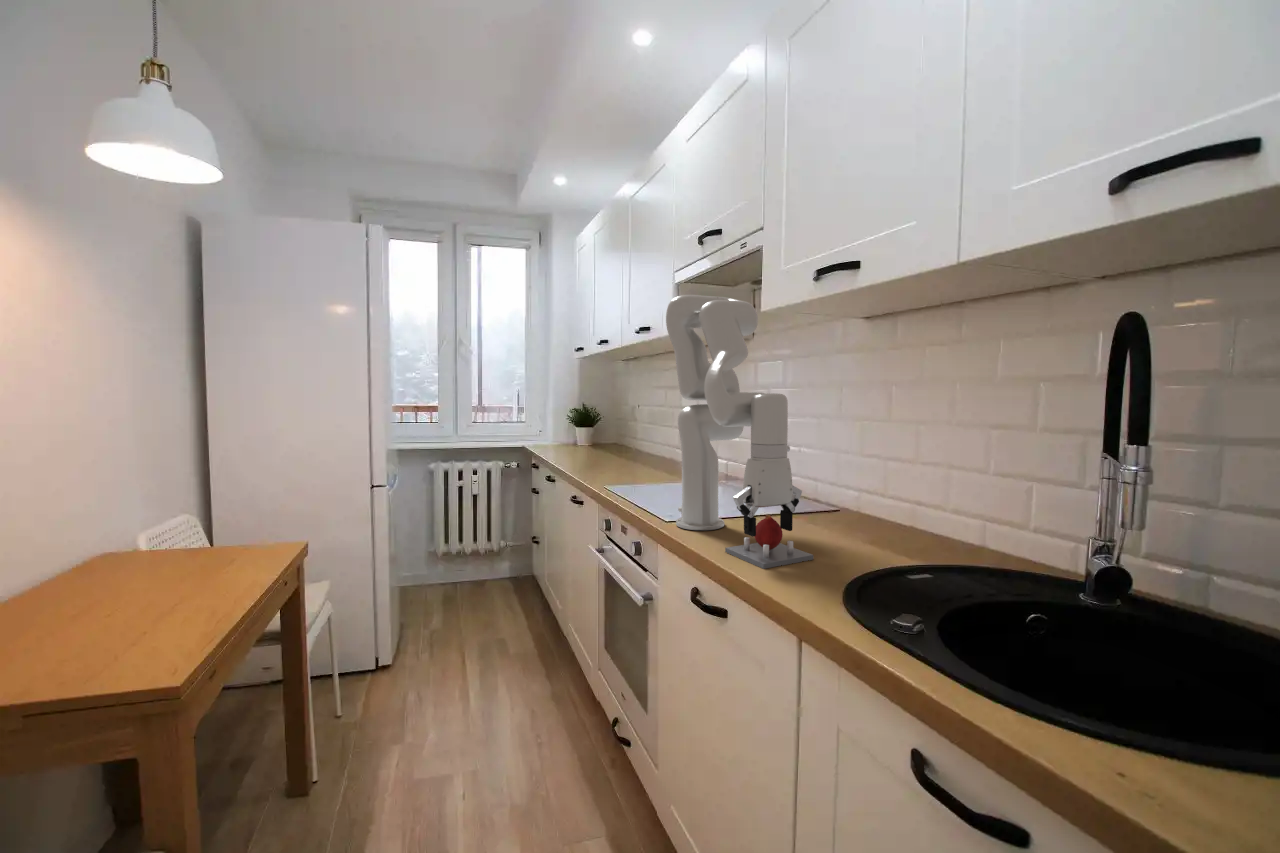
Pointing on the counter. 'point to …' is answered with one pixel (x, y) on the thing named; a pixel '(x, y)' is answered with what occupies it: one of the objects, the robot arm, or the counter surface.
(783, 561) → the pin tray
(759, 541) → the onion
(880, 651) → the counter surface
